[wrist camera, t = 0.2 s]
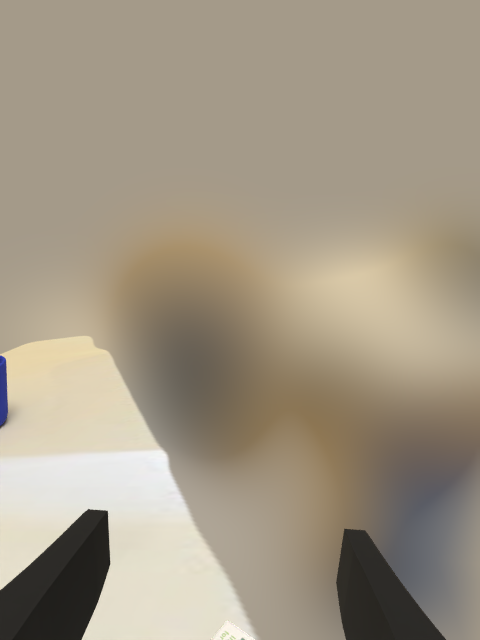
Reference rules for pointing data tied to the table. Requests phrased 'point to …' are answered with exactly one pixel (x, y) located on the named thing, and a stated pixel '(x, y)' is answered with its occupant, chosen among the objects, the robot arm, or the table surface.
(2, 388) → the mug
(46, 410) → the table surface
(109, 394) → the table surface
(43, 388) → the table surface
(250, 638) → the syrup box
